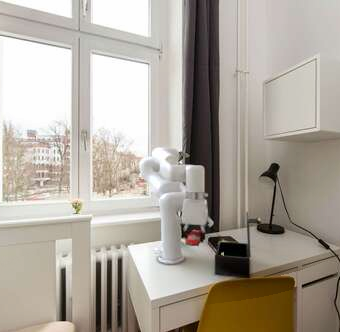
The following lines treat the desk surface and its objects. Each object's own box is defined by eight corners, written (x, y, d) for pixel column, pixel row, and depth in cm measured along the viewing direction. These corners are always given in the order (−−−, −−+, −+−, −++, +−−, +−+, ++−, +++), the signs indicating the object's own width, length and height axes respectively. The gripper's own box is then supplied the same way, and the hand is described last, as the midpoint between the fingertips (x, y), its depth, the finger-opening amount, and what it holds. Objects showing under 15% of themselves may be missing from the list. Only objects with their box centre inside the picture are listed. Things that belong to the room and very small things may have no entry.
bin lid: (246, 220, 86) (261, 220, 84) (246, 211, 103) (258, 211, 101) (248, 257, 85) (263, 258, 84) (247, 242, 102) (260, 243, 101)
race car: (197, 248, 81) (197, 237, 81) (183, 246, 82) (183, 236, 82) (205, 237, 93) (205, 227, 93) (193, 235, 95) (193, 226, 95)
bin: (215, 274, 88) (214, 255, 89) (219, 257, 106) (219, 241, 106) (249, 278, 85) (249, 258, 85) (248, 260, 102) (248, 243, 102)
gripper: (217, 195, 89) (217, 239, 89) (177, 193, 93) (177, 235, 94) (215, 198, 82) (214, 246, 82) (171, 196, 86) (171, 241, 86)
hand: (194, 240), depth 88 cm, fingers closed on race car, 5 cm apart
